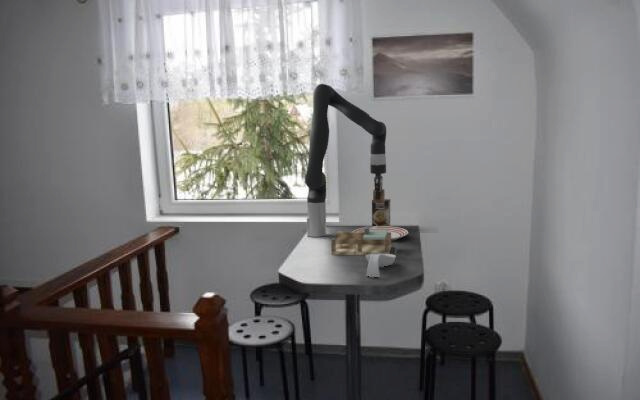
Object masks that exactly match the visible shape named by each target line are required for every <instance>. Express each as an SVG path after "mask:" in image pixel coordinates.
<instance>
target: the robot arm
mask: <svg viewBox="0 0 640 400" xmlns="http://www.w3.org/2000/svg"><path fill="white" fill-rule="evenodd" d="M312 92H313V93H312V95H313V96H312V105H313V107H312V118H311V125H310V127H311V128H310V135H309V148H308V163H307V168H306V172H305V177H304V182H305V185H306V187H307V188H308V194H307V197H306V201H307V202H306V203H307V205H306V206H307V217H306V233H307V237H311V238H319V237H320V238H321V237H325V236H327V210H326V209H327V207H326V206H327V205H326V198H327V176H326V175H325V173H324V171H323V167H324V159H325V156H326V154H327V150H328V146H329V139H330V124H329V119H328V110H329V106H330V107H332V108H334V109H336V110H338V111H339V112H340V113H342V114H343V115H344V116H345V117H346V118H347V119H349V120H350V121H351V122H353V123H355V124H356V125H358V126H359V127H361V128H362V129H363V130H364V131H366V133H368V134H370V135H371V136H372V138H371V140H372V141H371V144H370V158H369V162H370V164H369V165H370V167H369V170H370V174H373V175H375V177H373V181H374V189H375V192H376V200H380V199H381V197H380V192H381V189H383V184H384V183H383V181H384V178H383V176H382V174H386V173H387V157H386V139H387V127H386V124H385V123H384V122H382V121H378V120H377V119H375V118H373V117H372V116H371V115H370V114H369V113H368V112H366V111H365V110H363V109H362V108H360V107H358V106H357V105H355V104H353V103H352V102H350V101H349V100H347V99H346V98H344V97H343V96H342V95H341V94H340V93H339V92H337V90H335V89H334V88H333V86H331V85H328V84H325V83H321V84H320V83H319V84H317V86H315V88H314V90H313V91H312Z"/></svg>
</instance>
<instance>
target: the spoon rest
mask: <svg viewBox="0 0 640 400" xmlns="http://www.w3.org/2000/svg"><path fill="white" fill-rule="evenodd" d="M396 257H397V256H396V254H393V253H389V254H369V255H365V259H366V260H367V262H368V264H367V268H366V277H367V276H369V277H368V278H374V277H378V278H380V276H381V275H380V268H385V267H384V266H387V267H389V266H390V265H392V264H393V263H394V261H396ZM388 265H389V266H388Z"/></svg>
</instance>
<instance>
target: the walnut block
mask: <svg viewBox="0 0 640 400" xmlns="http://www.w3.org/2000/svg"><path fill="white" fill-rule="evenodd" d="M385 191H386V190H385V188H382V189H381V192H380V197H381V199H380V200H376V192H375V188H374V189H373V191H372V200H373V203H384V202H385V199H386V197H385Z"/></svg>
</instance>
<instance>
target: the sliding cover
mask: <svg viewBox="0 0 640 400" xmlns="http://www.w3.org/2000/svg"><path fill="white" fill-rule="evenodd" d="M369 227H370V225H366V226H365V228H364V227H363V228H364V236H363V239H372V240H385V238H386V235H387V232H388V230H369Z"/></svg>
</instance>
